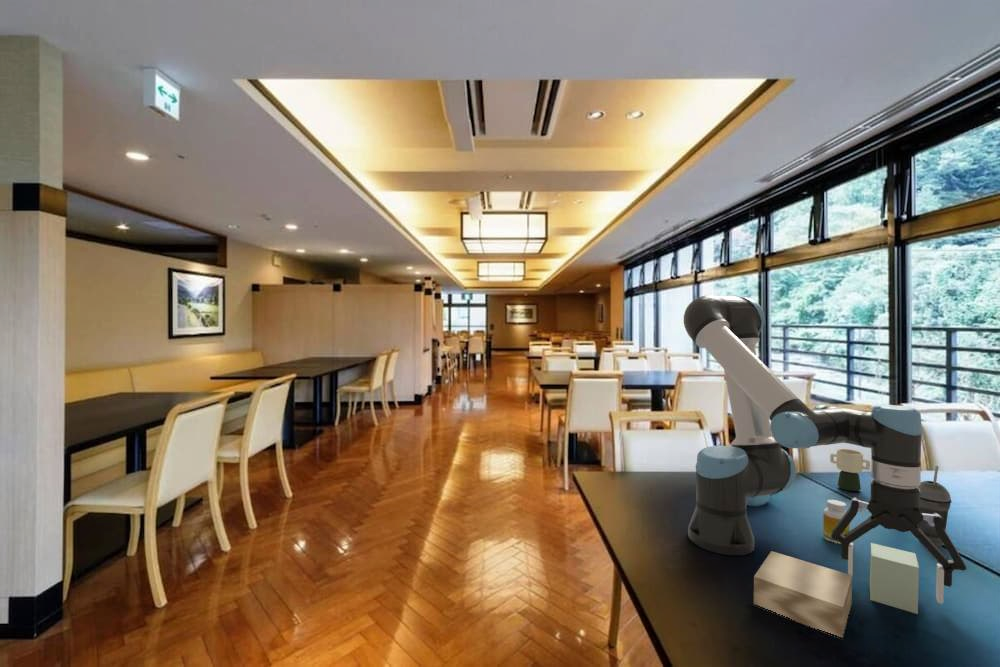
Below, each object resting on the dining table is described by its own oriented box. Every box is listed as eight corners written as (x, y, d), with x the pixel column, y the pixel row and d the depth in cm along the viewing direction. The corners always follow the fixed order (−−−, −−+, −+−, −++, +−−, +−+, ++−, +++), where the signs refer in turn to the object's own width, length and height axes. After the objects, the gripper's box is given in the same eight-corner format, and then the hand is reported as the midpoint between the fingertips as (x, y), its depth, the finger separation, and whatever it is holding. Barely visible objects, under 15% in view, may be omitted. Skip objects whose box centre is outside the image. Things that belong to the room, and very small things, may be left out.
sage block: (870, 600, 90) (871, 555, 90) (869, 584, 96) (870, 542, 96) (917, 614, 86) (918, 567, 86) (914, 597, 91) (915, 553, 91)
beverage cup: (930, 535, 119) (931, 460, 118) (959, 549, 111) (961, 469, 111) (903, 535, 118) (905, 460, 118) (931, 549, 111) (932, 469, 111)
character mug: (872, 491, 150) (873, 453, 150) (866, 496, 146) (867, 457, 145) (832, 482, 159) (833, 446, 158) (826, 487, 154) (827, 449, 154)
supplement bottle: (838, 546, 113) (838, 507, 112) (817, 536, 118) (818, 499, 118) (854, 543, 114) (855, 505, 114) (833, 534, 119) (834, 497, 119)
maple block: (753, 606, 88) (753, 576, 88) (770, 578, 99) (771, 550, 99) (842, 641, 79) (843, 607, 79) (851, 605, 89) (851, 575, 89)
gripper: (818, 474, 95) (816, 573, 96) (989, 504, 80) (986, 622, 80) (820, 466, 101) (818, 559, 102) (980, 492, 86) (978, 602, 86)
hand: (892, 587), depth 91 cm, fingers open, 13 cm apart
